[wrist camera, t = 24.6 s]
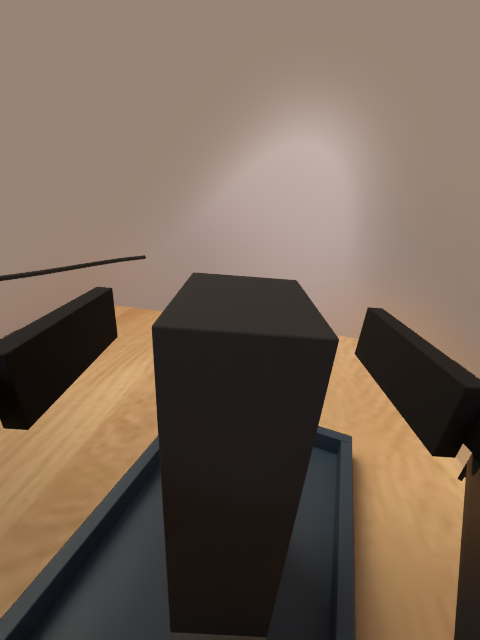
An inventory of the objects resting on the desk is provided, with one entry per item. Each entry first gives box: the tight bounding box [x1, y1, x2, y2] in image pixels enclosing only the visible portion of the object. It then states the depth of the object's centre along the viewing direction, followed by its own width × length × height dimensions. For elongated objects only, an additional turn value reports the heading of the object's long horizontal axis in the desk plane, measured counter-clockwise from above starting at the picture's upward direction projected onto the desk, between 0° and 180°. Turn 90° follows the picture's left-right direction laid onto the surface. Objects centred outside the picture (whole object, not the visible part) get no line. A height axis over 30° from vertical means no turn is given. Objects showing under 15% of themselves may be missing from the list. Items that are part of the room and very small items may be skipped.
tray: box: [0, 426, 356, 640], centre depth 15 cm, size 19×14×2 cm
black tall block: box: [152, 273, 339, 640], centre depth 11 cm, size 5×4×15 cm
